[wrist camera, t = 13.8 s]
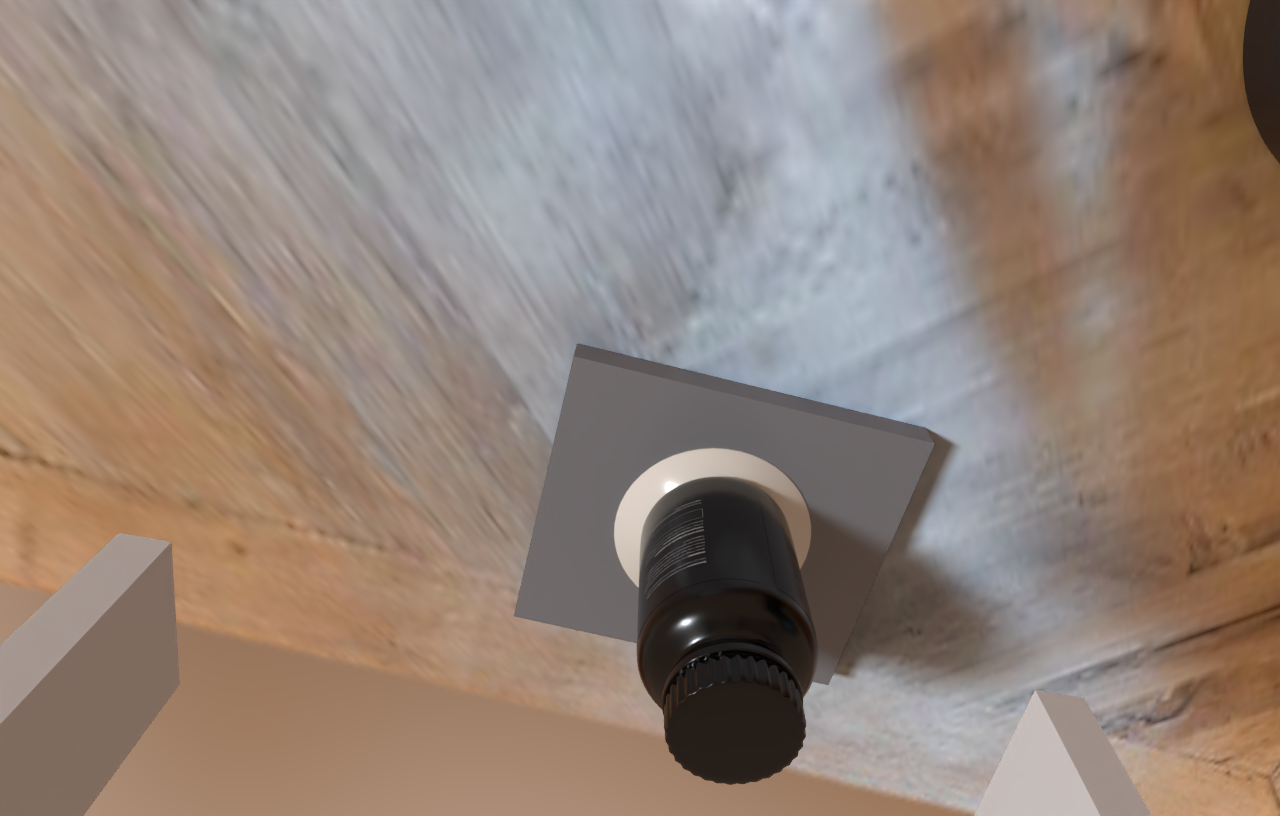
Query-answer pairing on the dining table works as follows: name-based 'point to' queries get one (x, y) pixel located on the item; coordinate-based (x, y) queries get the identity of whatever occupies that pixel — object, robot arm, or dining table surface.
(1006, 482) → the dining table surface
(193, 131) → the dining table surface
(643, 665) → the supplement bottle
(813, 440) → the board
